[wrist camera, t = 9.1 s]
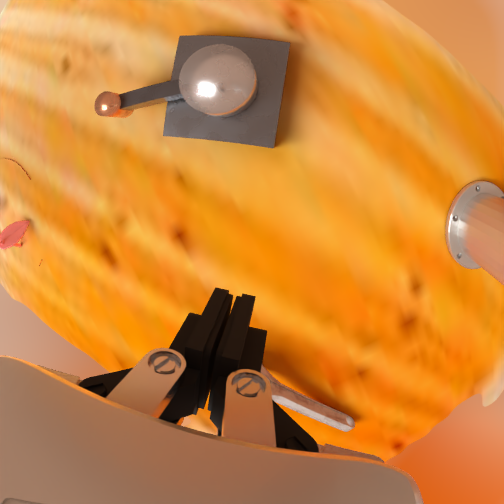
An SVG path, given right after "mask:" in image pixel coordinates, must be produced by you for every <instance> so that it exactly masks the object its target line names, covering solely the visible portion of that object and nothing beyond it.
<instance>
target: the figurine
mask: <svg viewBox="0 0 504 504" xmlns="http://www.w3.org/2000/svg"><path fill="white" fill-rule="evenodd" d="M5 159H6V158H5ZM10 160H11V159H10ZM12 161H13V160H12ZM14 162H15V161H14ZM16 163H17V162H16ZM17 164H18V163H17ZM18 165H19V164H18ZM22 169H23V168H22ZM23 170H24V169H23ZM24 171H25V170H24ZM25 172H26V171H25ZM26 174H27V173H26ZM27 175H28V174H27ZM28 177H29V176H28ZM29 178H30V177H29ZM30 180H31V179H30ZM29 222H30V221H18V222H14V223H12V224H10V225H9V226H7V227H6V228H5V229H4V230H3V231H2V233H1V234H0V248H1V249H6V248H9V247H12V246H17V247H21V246H22V245H21V244H18V241H19V240H20V239H21V238H22V237H23V236H24V234H25V232H26V231H25V230H26V228H27V226H28V225H29ZM41 261H42V260H41ZM40 264H41V263H40Z"/></svg>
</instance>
